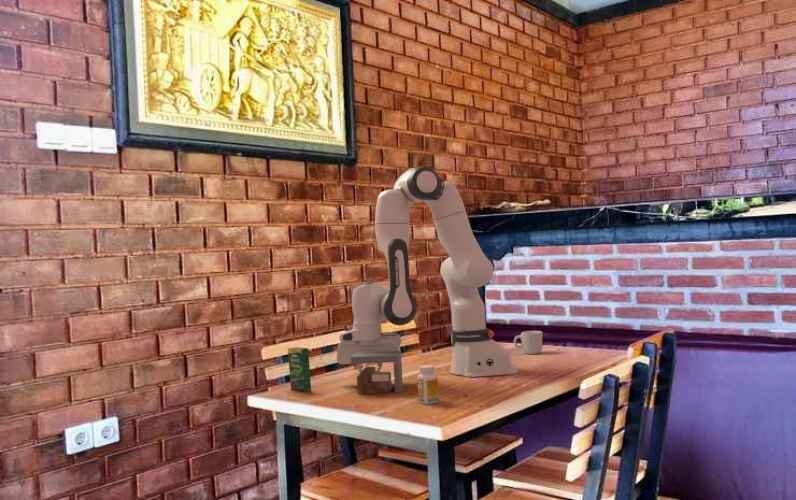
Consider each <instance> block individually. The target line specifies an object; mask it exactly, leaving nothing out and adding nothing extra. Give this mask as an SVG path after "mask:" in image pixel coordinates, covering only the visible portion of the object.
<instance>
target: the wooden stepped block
mask: <svg viewBox="0 0 796 500" xmlns="http://www.w3.org/2000/svg"><path fill="white" fill-rule="evenodd" d="M362 370H363V371H362V372H361V373H360V372H359V374H358V375H357V376H356V386H357V388H356V389H357V394H358V395H359V394H360V395H362V394H367V395H368V394H386V393H387V394H388V393H389V384H388V381H378V382H372V374H373V373H374V372H375V371H377V369H376V366H374V365H373V366H365V367H364V368H363V369H362Z"/></svg>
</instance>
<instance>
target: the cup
mask: <svg viewBox="0 0 796 500" xmlns="http://www.w3.org/2000/svg"><path fill="white" fill-rule="evenodd" d="M543 333H544V332H543V331H541V330H525V331H522V332H521V333H520V335H519V334H518V335H516V336H515V337H514V338H513V345H514V346H515V347H516V349H517V348H518V349H523V352H524V353H525V354H526V353H527V354H526V355H538V353H539V354H541V353H542V351H543V335H544V334H543ZM518 339H520V341H521V344H520V345H518V343H517V340H518Z"/></svg>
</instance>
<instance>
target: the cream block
mask: <svg viewBox="0 0 796 500" xmlns="http://www.w3.org/2000/svg"><path fill="white" fill-rule="evenodd" d="M378 381H388V384H389V392H390V391H391V390H392V373H391V371H380V372H374V373H373V374H372V382H378ZM389 392H388V393H389Z"/></svg>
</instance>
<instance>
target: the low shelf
mask: <svg viewBox="0 0 796 500" xmlns="http://www.w3.org/2000/svg"><path fill="white" fill-rule="evenodd" d="M377 363H383V364H384V363H385V364H387V363H393V379H394V394H401V392H402V390H403V388H404V385H403V382H404V381H403V367H402V364H403V363H402V351H401V350H400V351H385V352H360V353H354V354H353V355H352V356H351V364H352V365H356V364H362V365H363V364H377ZM351 364H350V365H351Z"/></svg>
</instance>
